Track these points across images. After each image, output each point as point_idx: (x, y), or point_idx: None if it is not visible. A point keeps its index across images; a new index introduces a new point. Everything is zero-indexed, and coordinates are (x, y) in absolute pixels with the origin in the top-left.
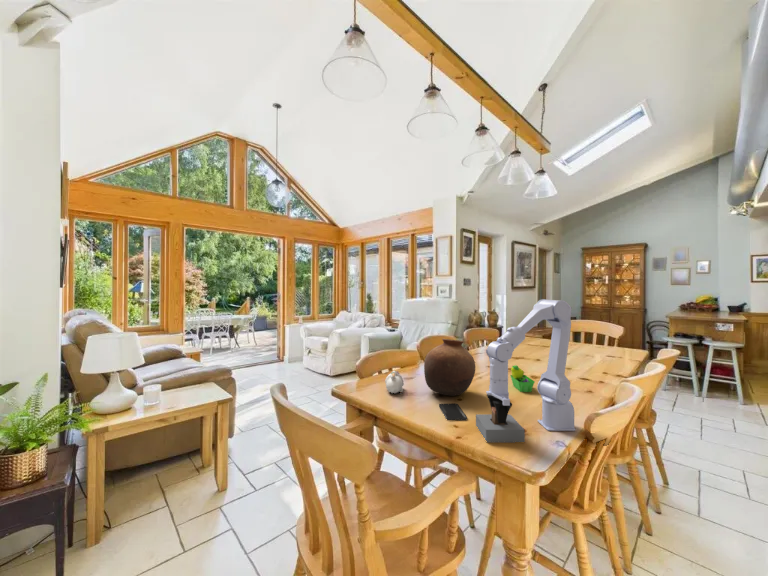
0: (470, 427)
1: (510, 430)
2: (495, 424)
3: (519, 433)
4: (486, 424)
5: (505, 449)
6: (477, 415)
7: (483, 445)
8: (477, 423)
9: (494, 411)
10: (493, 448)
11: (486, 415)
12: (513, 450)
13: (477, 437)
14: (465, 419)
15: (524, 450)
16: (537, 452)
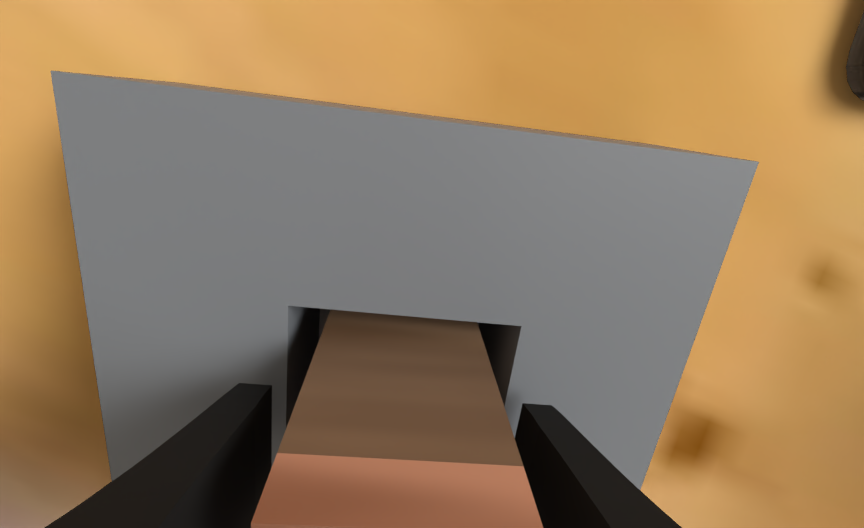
0: (622, 45)
1: (116, 447)
2: (324, 332)
3: None
4: (291, 177)
5: (20, 242)
6: (706, 173)
7: (85, 7)
8: (599, 138)
9: (291, 491)
10: (19, 111)
11: (655, 325)
12: (13, 313)
13: (319, 20)
14: (858, 63)
15: (34, 409)
16: (15, 490)
